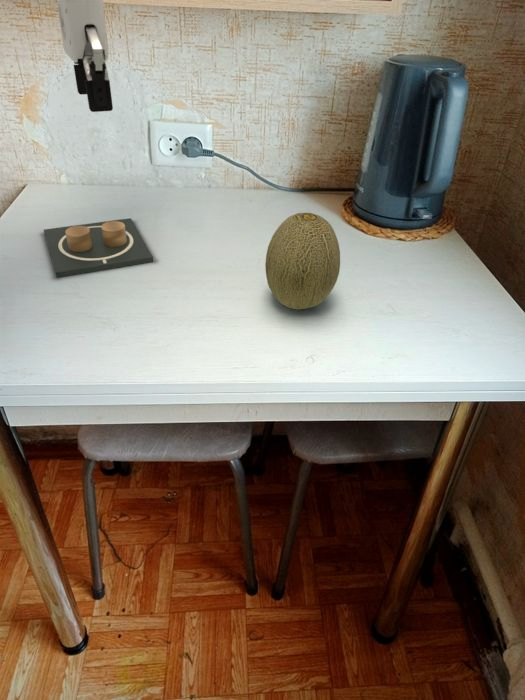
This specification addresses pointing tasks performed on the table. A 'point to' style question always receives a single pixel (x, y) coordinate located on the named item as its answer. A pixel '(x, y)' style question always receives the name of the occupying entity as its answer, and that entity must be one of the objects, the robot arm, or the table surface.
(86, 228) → the tan cork puck
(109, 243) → the tan cork stopper
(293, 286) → the fruit
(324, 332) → the table surface
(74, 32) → the robot arm
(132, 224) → the slate board
